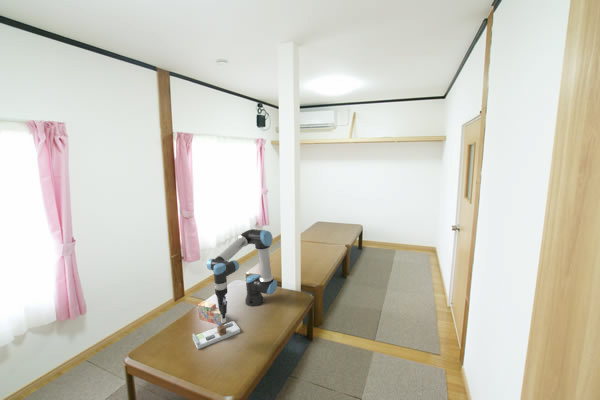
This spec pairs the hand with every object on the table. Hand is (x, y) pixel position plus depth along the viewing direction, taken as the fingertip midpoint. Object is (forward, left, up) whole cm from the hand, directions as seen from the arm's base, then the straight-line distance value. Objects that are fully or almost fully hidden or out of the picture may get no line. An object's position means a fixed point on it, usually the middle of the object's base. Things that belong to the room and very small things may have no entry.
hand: (223, 322), depth 180 cm
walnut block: (-1, -8, -13) cm, 15 cm away
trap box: (+2, -11, -15) cm, 19 cm away
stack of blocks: (-2, -32, -16) cm, 36 cm away
